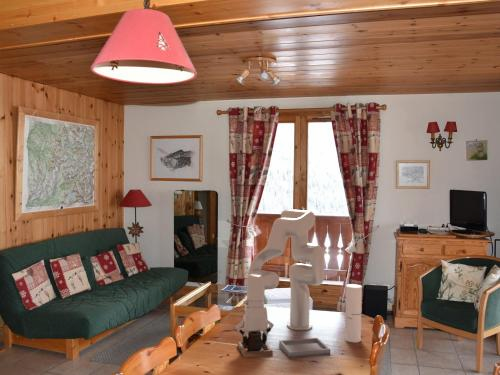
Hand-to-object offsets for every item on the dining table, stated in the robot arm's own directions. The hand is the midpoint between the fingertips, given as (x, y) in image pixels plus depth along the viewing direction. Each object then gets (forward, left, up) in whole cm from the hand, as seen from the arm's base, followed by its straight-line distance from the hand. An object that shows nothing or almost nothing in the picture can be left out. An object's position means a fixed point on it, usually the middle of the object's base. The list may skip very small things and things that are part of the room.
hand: (254, 343), depth 193 cm
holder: (0, 0, -3) cm, 3 cm away
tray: (+4, +21, -3) cm, 22 cm away
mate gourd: (0, 0, -3) cm, 3 cm away
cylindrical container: (-4, +48, -3) cm, 48 cm away
